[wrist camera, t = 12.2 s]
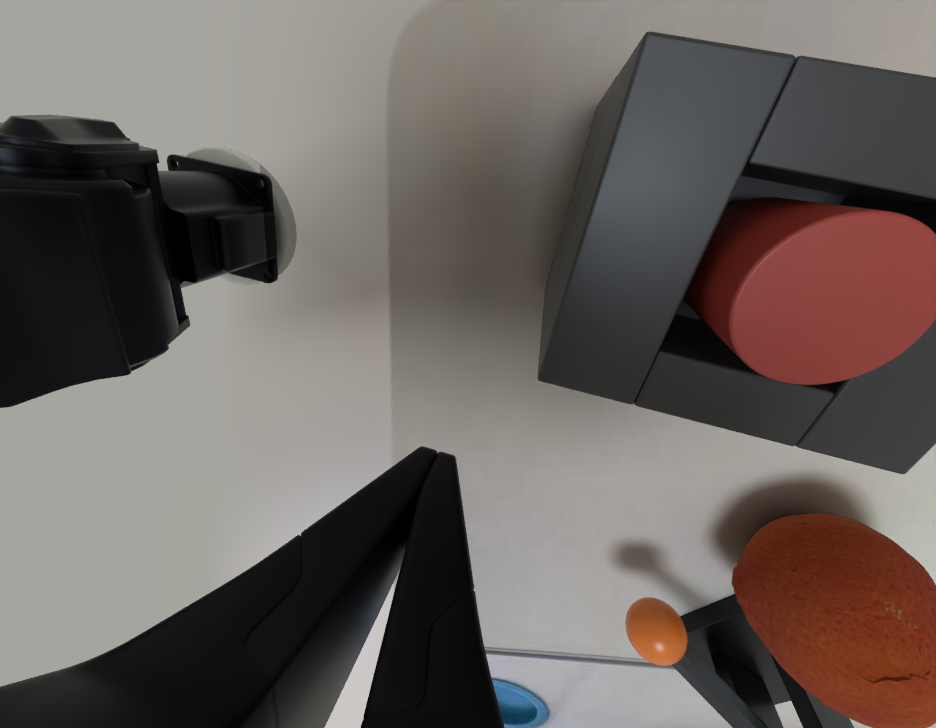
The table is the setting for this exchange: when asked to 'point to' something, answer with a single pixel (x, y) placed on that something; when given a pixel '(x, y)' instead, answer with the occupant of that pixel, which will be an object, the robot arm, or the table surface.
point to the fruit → (844, 616)
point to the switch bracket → (752, 666)
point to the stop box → (695, 219)
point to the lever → (683, 658)
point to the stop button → (815, 287)
